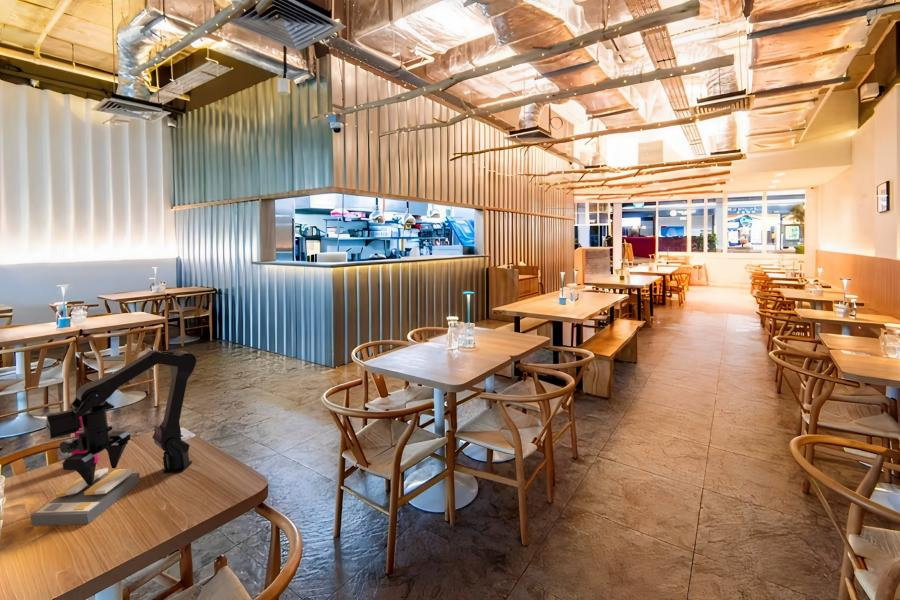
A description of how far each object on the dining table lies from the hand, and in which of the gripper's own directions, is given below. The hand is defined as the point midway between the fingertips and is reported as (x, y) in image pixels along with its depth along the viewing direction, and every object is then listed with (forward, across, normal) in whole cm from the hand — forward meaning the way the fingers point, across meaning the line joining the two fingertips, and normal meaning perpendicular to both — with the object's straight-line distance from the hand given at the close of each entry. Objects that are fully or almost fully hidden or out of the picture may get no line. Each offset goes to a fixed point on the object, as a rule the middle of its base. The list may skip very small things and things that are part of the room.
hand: (102, 476), depth 130 cm
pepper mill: (+6, -20, -21) cm, 30 cm away
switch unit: (+6, +3, -2) cm, 7 cm away
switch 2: (+2, 0, +2) cm, 3 cm away
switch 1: (+2, 0, -6) cm, 6 cm away
